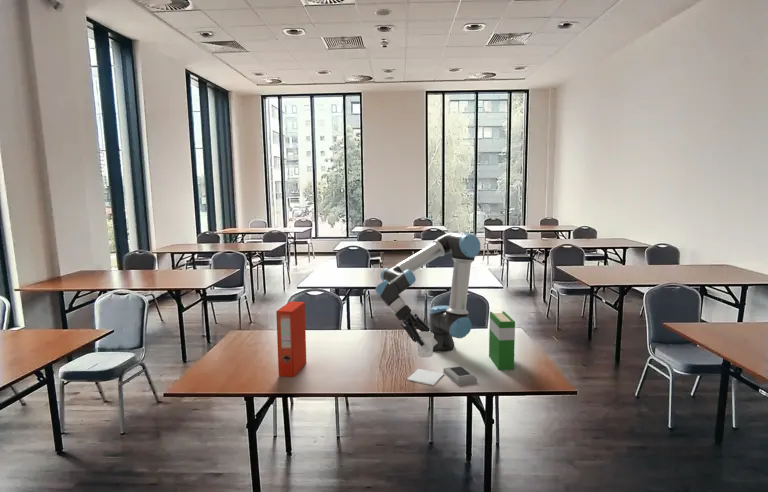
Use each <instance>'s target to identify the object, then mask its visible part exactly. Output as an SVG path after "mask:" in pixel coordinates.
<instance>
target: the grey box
mask: <svg viewBox="0 0 768 492" xmlns="http://www.w3.org/2000/svg"><path fill="white" fill-rule="evenodd" d="M442 371H443V372H442V373H443V374H445V376H447V377H448V378H449V379H450V381H452V382H453V383H454V384H456V385H457V386H458V387H459V386H464V385H470V384H476V383H478V377H476V376H475V375H474V374H473V373H472V372H470V371H469V370H468V369H466V368H465V367H464V366H463V365H457V366H450V367H444V368H443V370H442Z"/></svg>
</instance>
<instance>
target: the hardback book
mask: <svg viewBox="0 0 768 492" xmlns="http://www.w3.org/2000/svg"><path fill="white" fill-rule="evenodd" d="M515 336H516V321H515V320H514V319H513V318H511V316H510V315H509V314H508V313H506V312H505V311H501V312H498V313H497V312H495V313H494V312H492V311H489V333H488V337H489V338H488V341H489V343H488V357H489V358H490V360H491V362H492V363H493V365H495V367H496V369H497V370H498V371H514V369H515V338H516V337H515Z"/></svg>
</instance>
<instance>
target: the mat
mask: <svg viewBox="0 0 768 492" xmlns="http://www.w3.org/2000/svg"><path fill="white" fill-rule="evenodd" d="M443 376H444V373H443V372H442V373H441V372H437V371H432V370H426V369H421V368H417V369H416V370H415V372H414V373H412V374H411V375H410V376H409V377H407V379H406V381H409V382H413V383H419V384H423V385H427V386H428V385H429V386H433V387H434V386H435V385H436V384H437V382H438V381H440V380H441V379H442V377H443Z"/></svg>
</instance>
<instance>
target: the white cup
mask: <svg viewBox="0 0 768 492" xmlns="http://www.w3.org/2000/svg"><path fill="white" fill-rule="evenodd" d="M417 332H418V334H419V336H420V338H421V337H422V339H423V340H424V341H425V342H426V343H427V344H428V346H429V347H430V348H431V349H430V350H429V351H428V352H427V353H426V351H425V350H424V349H423V348H422V347H421V345H420V344H419V343H418V342H417V341H416V343H417V344H416V346H417V355H418V357H421V358H431V357H432V356H434V355H433V352H434V351H433V343H434V334H433V333H432V332H430V331H429V332H426V331H423V332H421V331H417Z"/></svg>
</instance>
